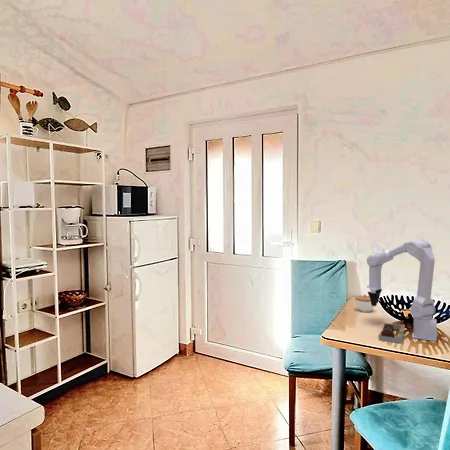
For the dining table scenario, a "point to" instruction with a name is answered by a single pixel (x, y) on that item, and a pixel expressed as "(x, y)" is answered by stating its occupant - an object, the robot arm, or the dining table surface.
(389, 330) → the bolt
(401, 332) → the hub cradle
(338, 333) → the dining table surface
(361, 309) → the lidded jar
